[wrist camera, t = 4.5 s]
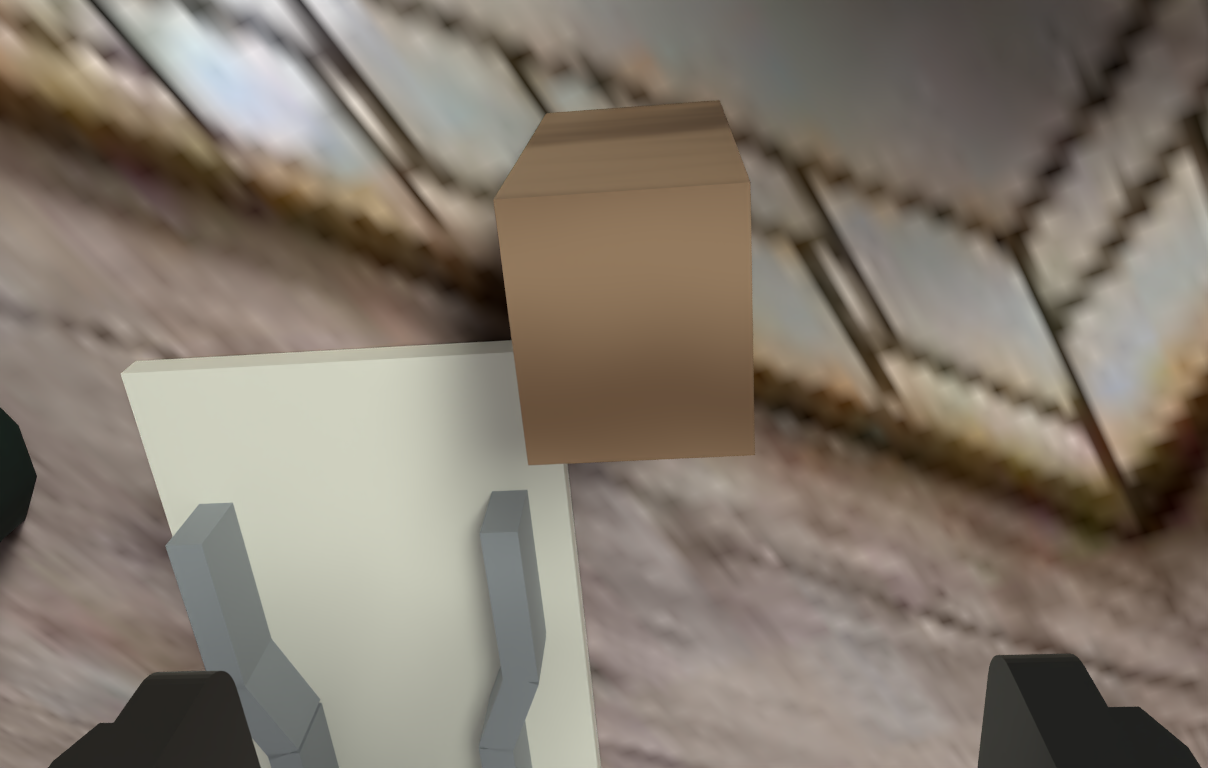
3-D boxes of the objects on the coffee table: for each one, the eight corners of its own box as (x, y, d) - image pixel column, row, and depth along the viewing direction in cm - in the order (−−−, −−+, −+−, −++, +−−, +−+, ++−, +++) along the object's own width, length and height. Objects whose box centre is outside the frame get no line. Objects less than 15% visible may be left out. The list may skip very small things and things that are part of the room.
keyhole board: (135, 361, 32) (49, 431, 27) (553, 337, 31) (536, 407, 26) (281, 831, 41) (235, 941, 37) (607, 826, 40) (601, 939, 36)
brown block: (546, 113, 28) (493, 199, 19) (719, 100, 28) (750, 182, 18) (566, 307, 30) (527, 465, 21) (725, 297, 30) (754, 455, 21)
